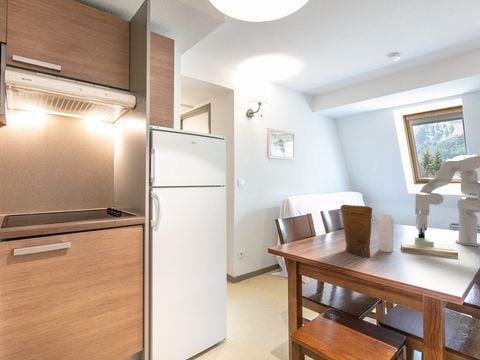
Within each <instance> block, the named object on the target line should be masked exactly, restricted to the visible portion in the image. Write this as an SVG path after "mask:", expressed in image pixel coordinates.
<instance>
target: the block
mask: <svg viewBox="0 0 480 360" xmlns="http://www.w3.org/2000/svg"><path fill="white" fill-rule="evenodd" d="M434 244H435V242H434V241H433V240H432V239H431V238H426V237H425V238H418V237H414V245H422V246H432V247H435V245H434Z"/></svg>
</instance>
